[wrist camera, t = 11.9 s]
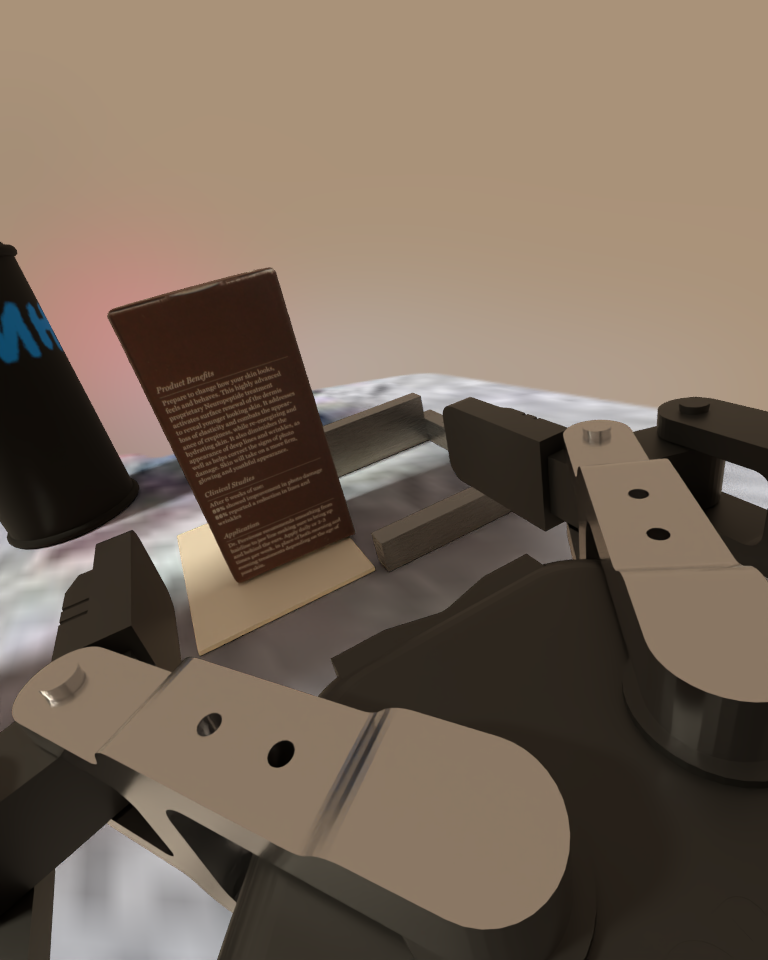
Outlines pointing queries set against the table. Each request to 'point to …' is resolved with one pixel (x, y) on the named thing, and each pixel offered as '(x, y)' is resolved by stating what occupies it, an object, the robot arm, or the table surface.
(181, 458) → the box
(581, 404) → the table surface
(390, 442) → the open rectangular frame
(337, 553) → the pad
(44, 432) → the aerosol can
